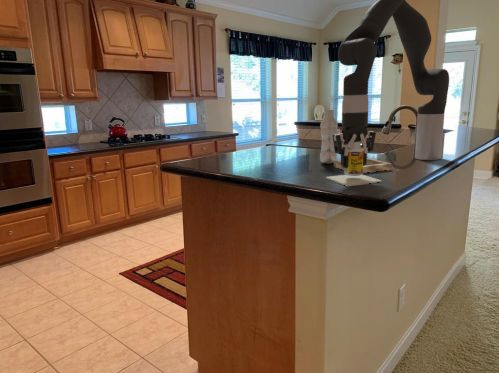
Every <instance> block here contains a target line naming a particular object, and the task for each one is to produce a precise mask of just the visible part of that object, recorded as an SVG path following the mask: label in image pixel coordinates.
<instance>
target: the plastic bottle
mask: <svg viewBox="0 0 499 373" xmlns="http://www.w3.org/2000/svg"><path fill="white" fill-rule="evenodd" d="M323 116H324V117H323V119H322V120H321V122H320V124H319V125H320V126H319V127H320V135H321V148H320V149H321V150H320V154H319V160H320V162H321V163H323V164H327V165H331V164H334V161H338V154H337V153H335V150H334V143H333V134H338V127H339V126H338V124H339V123H338V122H337V119H336V117H335V109H325V110H323Z"/></svg>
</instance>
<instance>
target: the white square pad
mask: <svg viewBox="0 0 499 373" xmlns="http://www.w3.org/2000/svg"><path fill="white" fill-rule="evenodd" d="M325 179H326V180H329V181H332V182H334V183H336V184H339V185H342V186H344V185H345V186H344V187H353V186H362V185H370V184H369V183H371V184H376V183H377V182H379V183H382V182H383V181H382V180H381V179H378V178H375V177H371V176H368V175H365V174H362V175H359V176H349V175H346V174H340V175H332V176H326V177H325Z"/></svg>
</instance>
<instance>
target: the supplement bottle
mask: <svg viewBox="0 0 499 373" xmlns="http://www.w3.org/2000/svg"><path fill="white" fill-rule="evenodd" d="M363 152H364V149H363V148H362V147H361V141H360V142H353V145H352V147H351V149H350V150H349V152H348V155H347V156H348V168H344V170H343V174H344V175H349V176H359V175H363V174H364V173H363Z"/></svg>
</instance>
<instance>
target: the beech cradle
mask: <svg viewBox="0 0 499 373" xmlns="http://www.w3.org/2000/svg"><path fill="white" fill-rule="evenodd" d="M333 168H335V169H338V168H339V170H341V169H342V171H344V168H343V167H342V166H341V159H340V160H337V161H334V163H333ZM384 170H387V171H392V163H390V162H386V161H383V160H379V159H373V158H369V157H367V163H366V164H365V166H363V173H362V174H368V173H367V172H370V173H377V172H376V171H379V172H385V171H384Z"/></svg>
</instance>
